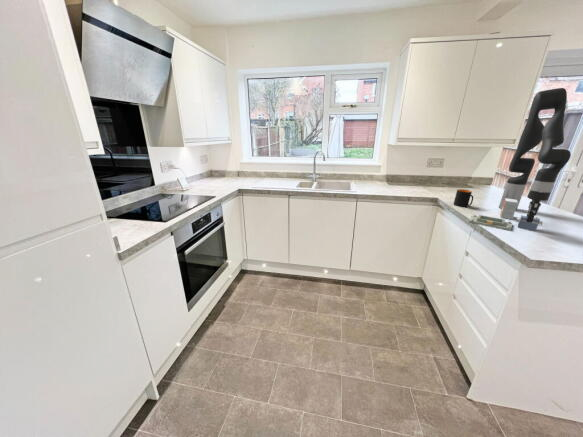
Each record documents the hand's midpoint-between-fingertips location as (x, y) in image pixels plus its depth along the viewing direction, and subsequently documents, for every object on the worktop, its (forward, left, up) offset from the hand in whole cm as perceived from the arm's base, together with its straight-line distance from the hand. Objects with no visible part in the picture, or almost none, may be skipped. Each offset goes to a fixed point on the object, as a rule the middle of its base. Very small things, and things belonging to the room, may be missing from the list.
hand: (528, 220), depth 122 cm
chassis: (+5, -15, -5) cm, 16 cm away
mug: (-24, -32, -5) cm, 40 cm away
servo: (0, 0, -5) cm, 5 cm away
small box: (-16, -9, -5) cm, 19 cm away
